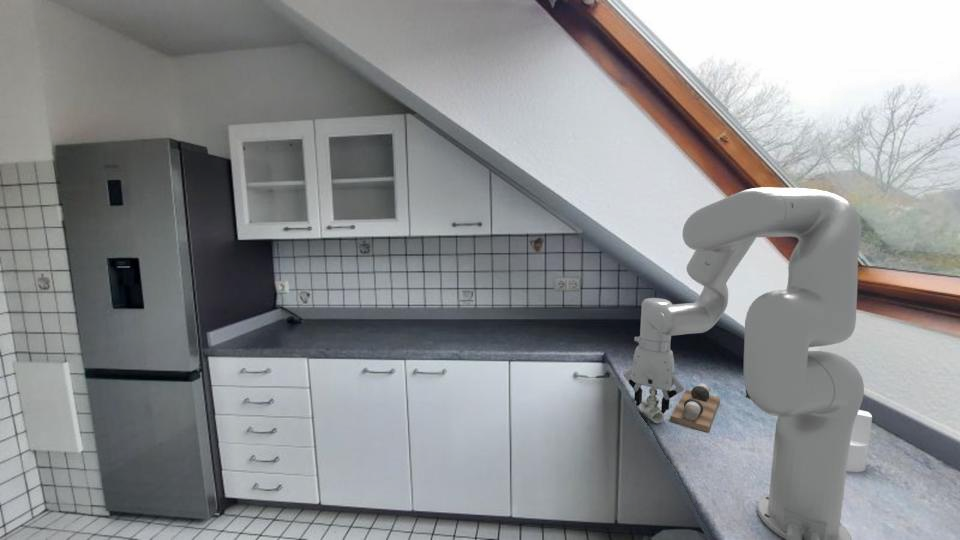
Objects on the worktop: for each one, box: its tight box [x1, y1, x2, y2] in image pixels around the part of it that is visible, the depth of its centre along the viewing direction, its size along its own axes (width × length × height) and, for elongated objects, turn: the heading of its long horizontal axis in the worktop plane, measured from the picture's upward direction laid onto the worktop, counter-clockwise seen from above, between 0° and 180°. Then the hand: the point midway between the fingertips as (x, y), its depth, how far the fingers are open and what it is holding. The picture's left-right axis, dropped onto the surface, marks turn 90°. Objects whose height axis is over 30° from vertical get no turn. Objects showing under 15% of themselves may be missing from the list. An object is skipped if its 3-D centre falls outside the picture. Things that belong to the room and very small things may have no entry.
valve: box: [640, 379, 665, 425], centre depth 103 cm, size 7×7×12 cm
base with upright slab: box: [846, 409, 873, 473], centre depth 85 cm, size 9×9×12 cm
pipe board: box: [669, 382, 721, 433], centre depth 107 cm, size 21×9×6 cm, turn 141°
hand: (651, 406), depth 104 cm, fingers closed on valve, 5 cm apart
